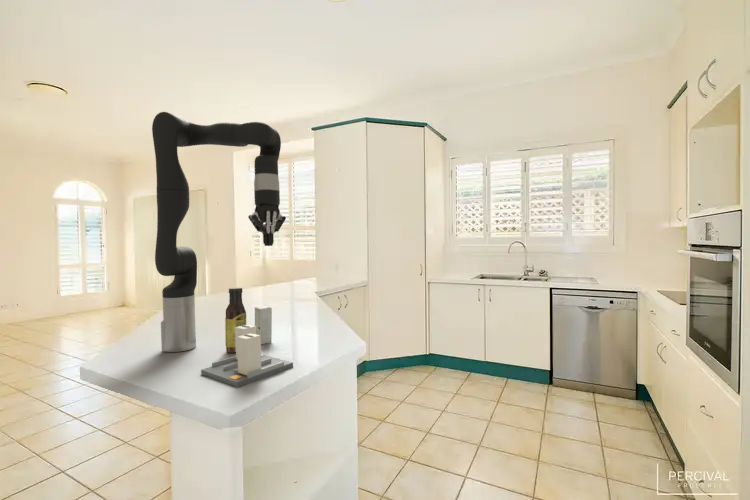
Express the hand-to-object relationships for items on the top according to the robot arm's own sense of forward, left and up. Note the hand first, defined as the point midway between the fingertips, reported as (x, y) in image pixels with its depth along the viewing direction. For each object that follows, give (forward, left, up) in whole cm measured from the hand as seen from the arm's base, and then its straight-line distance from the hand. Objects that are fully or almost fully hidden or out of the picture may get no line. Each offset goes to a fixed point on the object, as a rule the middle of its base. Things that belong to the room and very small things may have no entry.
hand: (268, 245), depth 115 cm
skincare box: (-4, +12, -33) cm, 36 cm away
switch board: (-4, -17, -33) cm, 37 cm away
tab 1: (-5, -11, -32) cm, 34 cm away
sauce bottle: (-11, +3, -33) cm, 35 cm away
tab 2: (-3, -23, -32) cm, 39 cm away
